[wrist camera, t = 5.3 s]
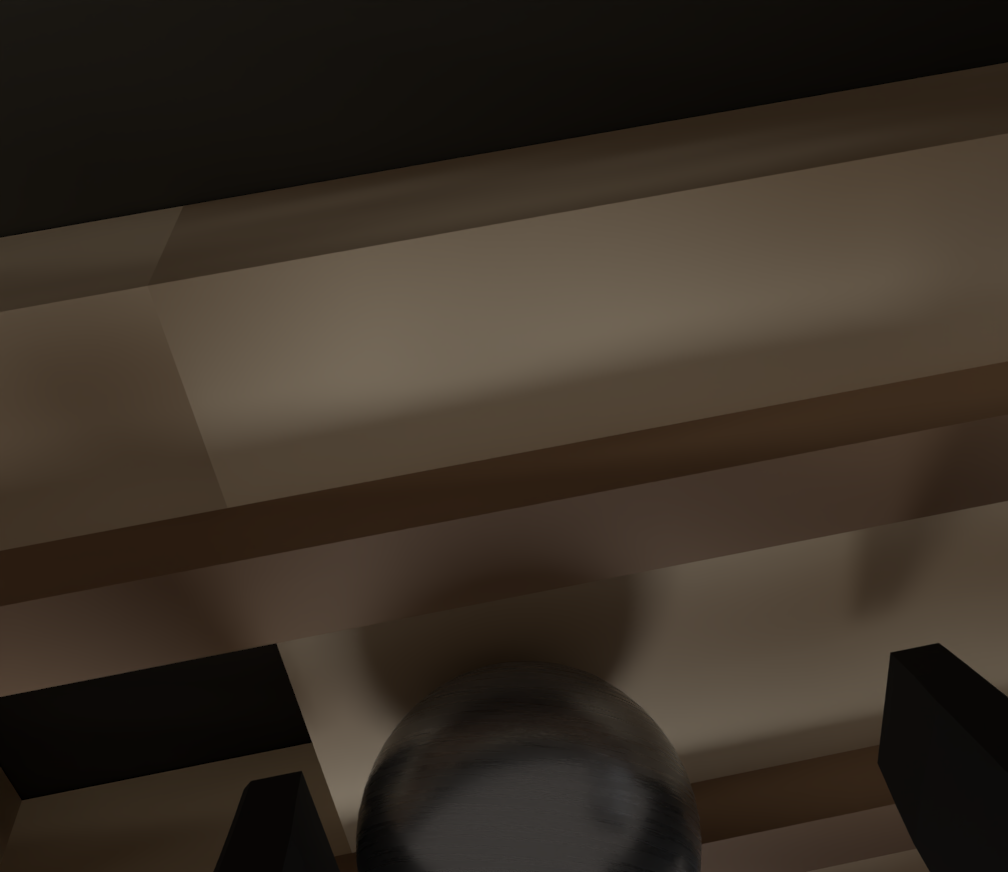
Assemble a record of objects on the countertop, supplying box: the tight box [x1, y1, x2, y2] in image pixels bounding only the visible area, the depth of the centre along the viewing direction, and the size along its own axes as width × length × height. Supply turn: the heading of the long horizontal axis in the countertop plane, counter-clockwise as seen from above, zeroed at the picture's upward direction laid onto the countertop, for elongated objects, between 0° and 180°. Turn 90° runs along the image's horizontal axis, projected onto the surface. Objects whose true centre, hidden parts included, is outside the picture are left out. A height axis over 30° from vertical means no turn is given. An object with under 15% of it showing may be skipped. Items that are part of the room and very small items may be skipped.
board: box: [0, 63, 1008, 872], centre depth 13 cm, size 13×22×3 cm, turn 98°
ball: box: [356, 661, 702, 872], centre depth 11 cm, size 4×4×4 cm
